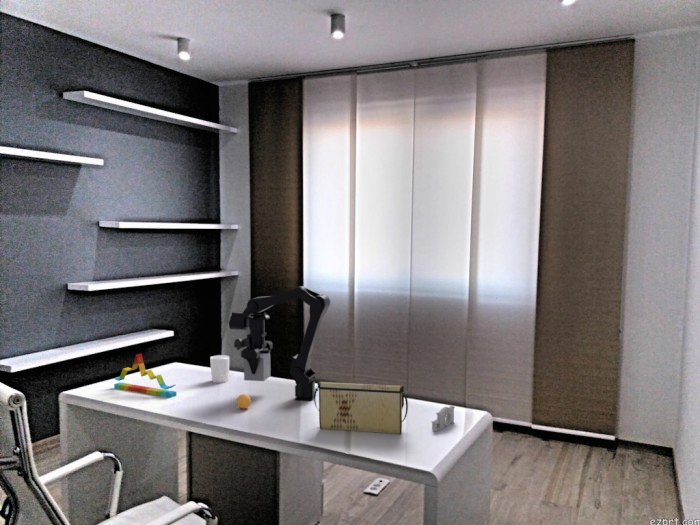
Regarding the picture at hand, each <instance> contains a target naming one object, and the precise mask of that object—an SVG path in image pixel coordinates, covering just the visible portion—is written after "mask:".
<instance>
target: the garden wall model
mask: <svg viewBox="0 0 700 525" xmlns="http://www.w3.org/2000/svg"><path fill="white" fill-rule="evenodd" d="M435 414H436V415H437V416H436V419H435V420H433V421H431V429H432V432H433V431H434V432H437V431H439V430H440V429H443V428H445V427H448V426H450V425H451V424H453V423H454V422H455V406H454V405H450V406H444V407H442V408H441V409H440V410H439V412H436V413H435Z"/></svg>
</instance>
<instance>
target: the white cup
mask: <svg viewBox="0 0 700 525" xmlns="http://www.w3.org/2000/svg"><path fill="white" fill-rule="evenodd" d="M209 358H210V360H209V361H210V371H211V373H210V375H211V381H212V382H213V383H214V384H216V383H218V384H221V383H222V384H223V383H226V382H228V381H229V380H230V378H229V377H230V355H226V354H225V355H224V354H223V355H222V354H217V355H213V356H210V357H209Z"/></svg>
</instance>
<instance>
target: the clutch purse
mask: <svg viewBox="0 0 700 525" xmlns="http://www.w3.org/2000/svg"><path fill="white" fill-rule="evenodd" d="M317 393H318V407H317V402H316V401H317V400H316V396H317ZM407 394H408V391H407V390H405V387H404V385H389V384H372V383H371V384H369V383H354V382H353V383H352V382H351V383H349V382H329V381H318V382H317V385H315V393H314V399H313V401H314V406H315V407H316V409H317V410H318V416H319V417H318V418H319V419H318V420H319V422H318V423H319V429H320V430H321V429H329V430H341V431H342V430H343V431H360V432H373V433H387V434H388V433H389V434H399V435H402V433H403V422H404V421H405V419H406V417H407V414H408V407H409V404H408V398H407V396H408V395H407ZM404 406H405V414H404V418H403V408H404Z"/></svg>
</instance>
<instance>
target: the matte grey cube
mask: <svg viewBox="0 0 700 525" xmlns="http://www.w3.org/2000/svg"><path fill="white" fill-rule="evenodd" d="M259 356H261V357H260V360H259V364H258V367H257V370H256V373H255V374H252V372H251V369H250V365H249V363H248V361H247V360H246V359H244V358H243V381H253V382H265V381H266V380H267V379H269V378H270V377H271V352H270V353H260V355H259Z"/></svg>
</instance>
